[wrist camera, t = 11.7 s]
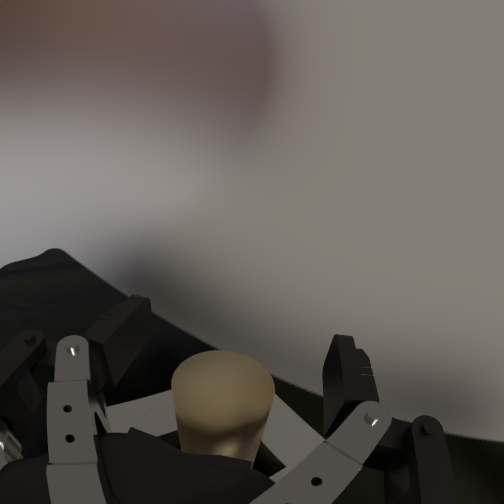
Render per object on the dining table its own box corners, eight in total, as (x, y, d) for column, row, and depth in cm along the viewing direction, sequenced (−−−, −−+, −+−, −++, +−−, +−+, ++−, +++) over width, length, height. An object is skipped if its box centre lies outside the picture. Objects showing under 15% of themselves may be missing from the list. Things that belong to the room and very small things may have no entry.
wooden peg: (178, 472, 14) (156, 365, 10) (225, 453, 17) (237, 340, 12) (207, 513, 12) (203, 441, 7) (256, 489, 14) (296, 396, 9)
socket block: (111, 444, 15) (92, 410, 13) (239, 401, 22) (245, 363, 20) (188, 574, 6) (179, 576, 5) (333, 493, 13) (361, 469, 11)
